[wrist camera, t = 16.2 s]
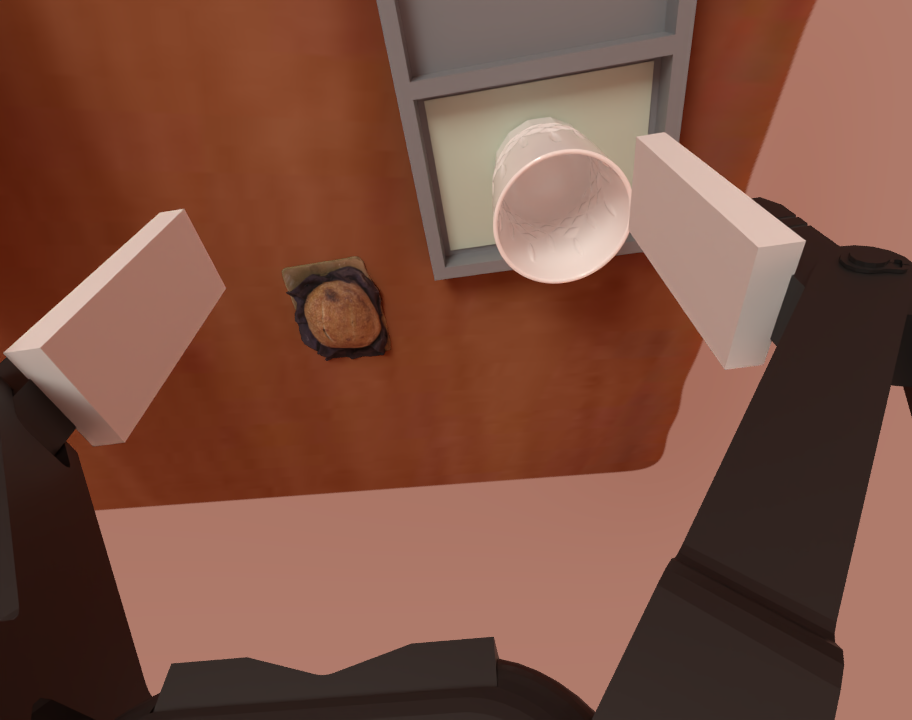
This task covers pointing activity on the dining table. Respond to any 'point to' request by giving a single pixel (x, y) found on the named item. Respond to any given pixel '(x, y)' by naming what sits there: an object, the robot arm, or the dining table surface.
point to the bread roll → (338, 308)
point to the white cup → (557, 202)
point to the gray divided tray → (524, 96)
